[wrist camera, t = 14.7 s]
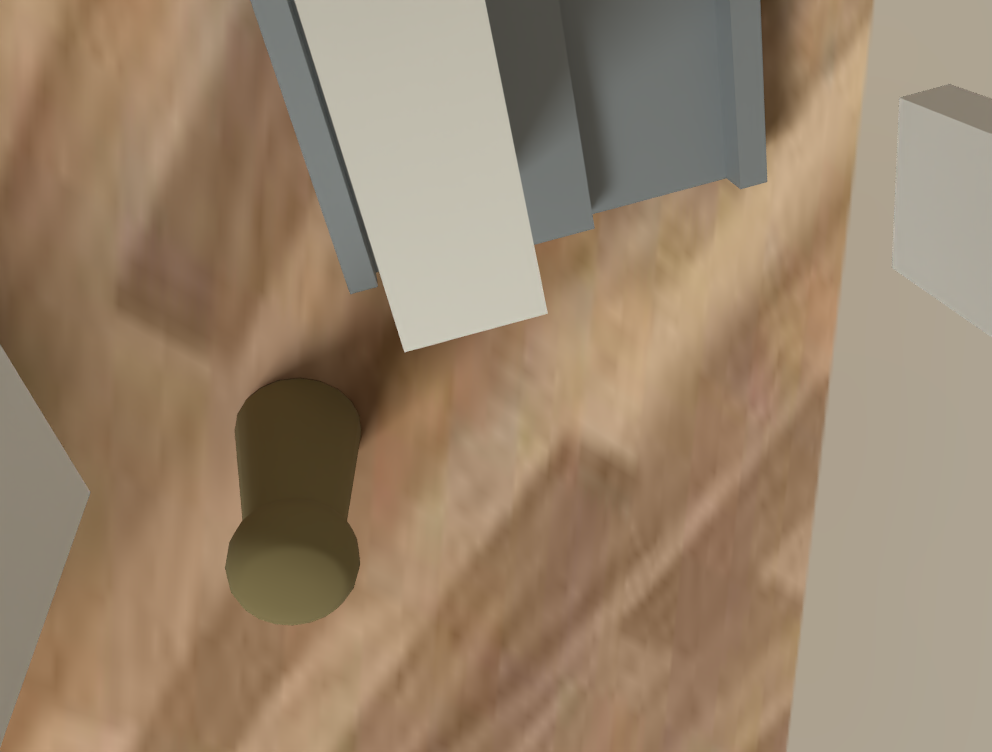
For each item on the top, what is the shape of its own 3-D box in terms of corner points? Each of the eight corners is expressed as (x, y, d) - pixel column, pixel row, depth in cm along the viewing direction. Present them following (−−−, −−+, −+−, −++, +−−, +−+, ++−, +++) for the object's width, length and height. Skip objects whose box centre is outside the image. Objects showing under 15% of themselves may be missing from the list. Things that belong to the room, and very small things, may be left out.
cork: (258, 493, 44) (242, 665, 34) (216, 396, 40) (184, 557, 31) (375, 463, 44) (389, 625, 35) (341, 364, 41) (347, 514, 31)
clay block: (381, 214, 36) (404, 352, 26) (265, -174, 29) (234, -192, 18) (484, 186, 36) (547, 313, 26) (396, -206, 29) (436, -241, 19)
